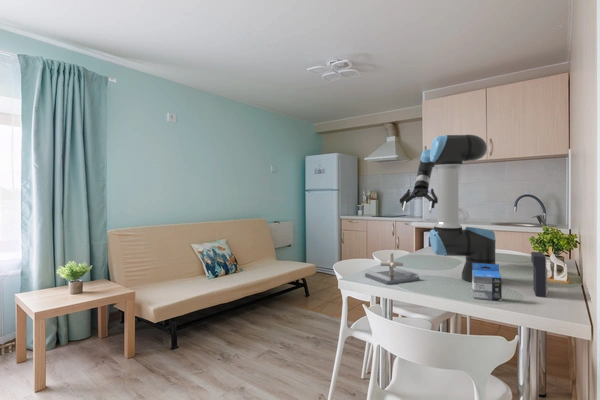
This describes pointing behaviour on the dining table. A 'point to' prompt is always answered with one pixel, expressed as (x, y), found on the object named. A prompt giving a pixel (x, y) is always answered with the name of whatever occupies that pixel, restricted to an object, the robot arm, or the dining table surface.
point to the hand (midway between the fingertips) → (416, 211)
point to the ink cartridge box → (486, 282)
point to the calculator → (539, 274)
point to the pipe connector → (391, 264)
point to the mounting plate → (392, 276)
